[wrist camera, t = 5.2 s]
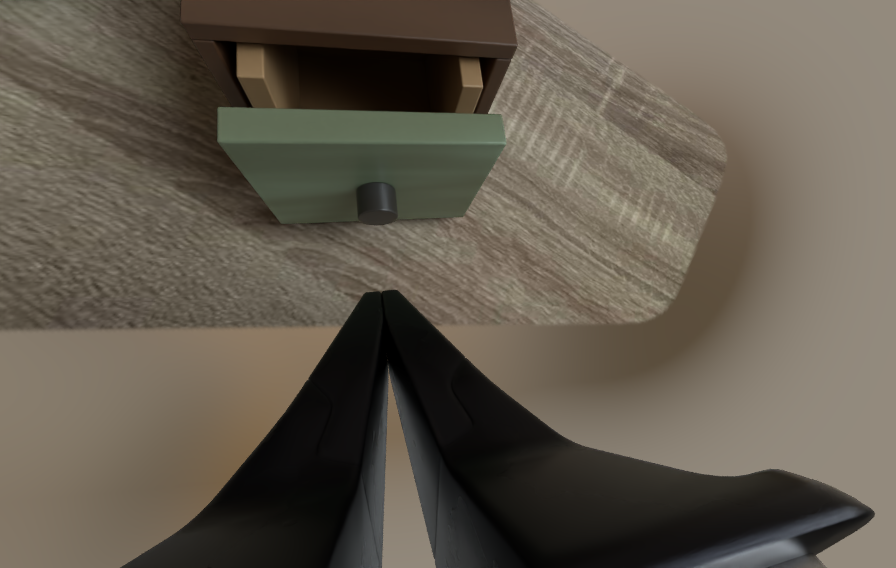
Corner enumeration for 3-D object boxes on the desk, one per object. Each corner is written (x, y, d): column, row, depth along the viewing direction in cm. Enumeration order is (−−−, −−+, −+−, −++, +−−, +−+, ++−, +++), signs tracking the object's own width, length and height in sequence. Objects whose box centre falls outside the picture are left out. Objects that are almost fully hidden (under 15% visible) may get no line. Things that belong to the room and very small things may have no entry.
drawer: (466, 239, 18) (512, 176, 11) (281, 248, 16) (215, 180, 10) (443, 66, 20) (472, -71, 13) (275, 57, 18) (216, -108, 11)
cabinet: (463, 169, 19) (518, 45, 12) (271, 171, 17) (178, 20, 9) (443, 20, 21) (479, -176, 13) (266, 5, 19) (186, -237, 11)
